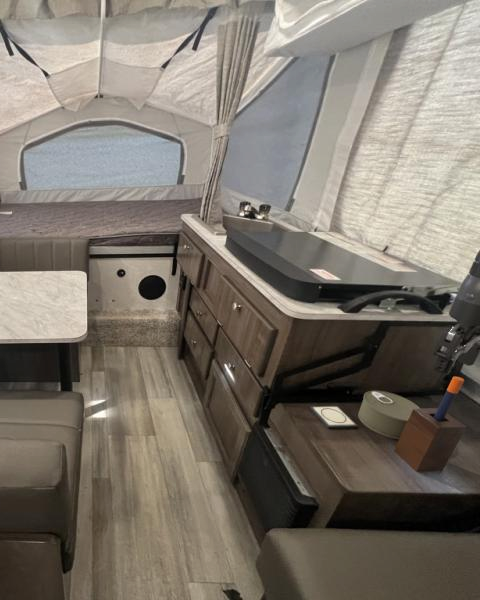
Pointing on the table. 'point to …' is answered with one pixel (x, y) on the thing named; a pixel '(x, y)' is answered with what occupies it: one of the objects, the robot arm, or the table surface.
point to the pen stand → (428, 440)
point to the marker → (448, 398)
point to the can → (385, 413)
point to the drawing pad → (333, 417)
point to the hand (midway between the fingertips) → (452, 368)
